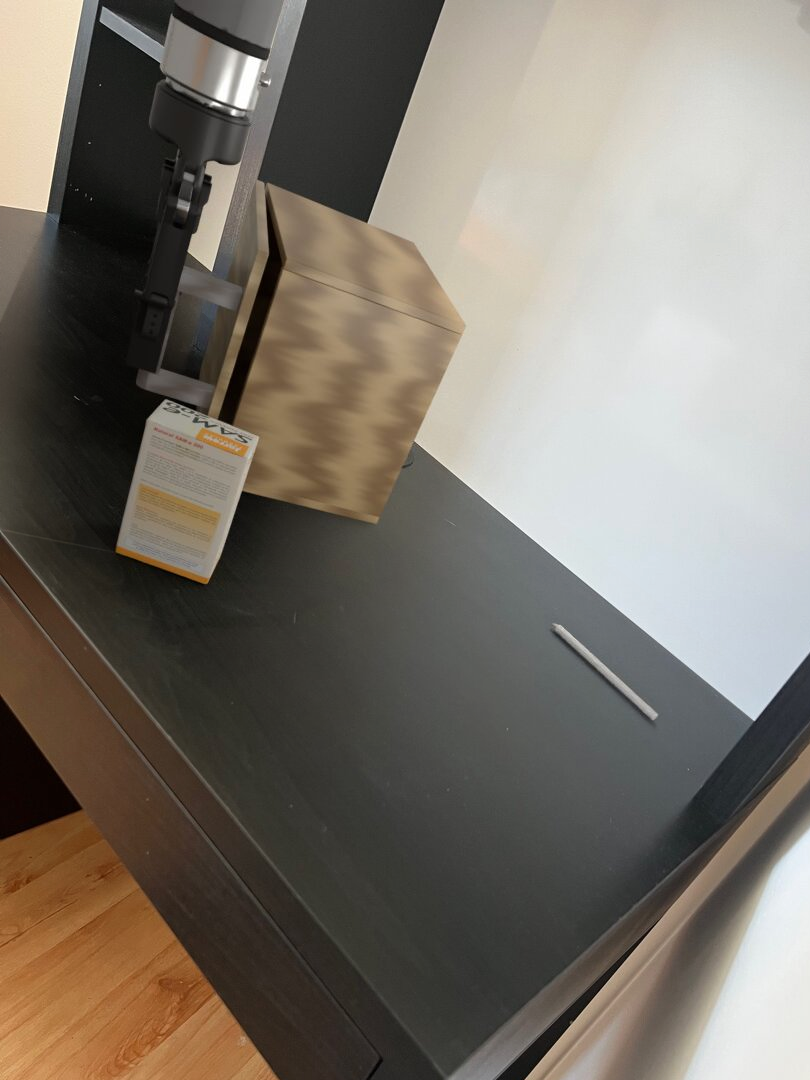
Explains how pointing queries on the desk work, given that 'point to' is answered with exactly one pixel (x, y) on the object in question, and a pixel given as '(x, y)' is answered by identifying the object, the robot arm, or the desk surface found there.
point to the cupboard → (337, 359)
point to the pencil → (606, 672)
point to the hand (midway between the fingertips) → (141, 361)
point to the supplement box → (184, 491)
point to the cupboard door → (219, 315)
